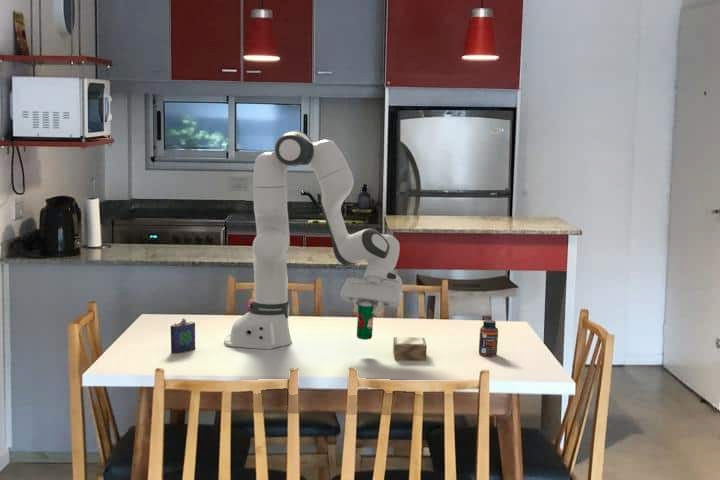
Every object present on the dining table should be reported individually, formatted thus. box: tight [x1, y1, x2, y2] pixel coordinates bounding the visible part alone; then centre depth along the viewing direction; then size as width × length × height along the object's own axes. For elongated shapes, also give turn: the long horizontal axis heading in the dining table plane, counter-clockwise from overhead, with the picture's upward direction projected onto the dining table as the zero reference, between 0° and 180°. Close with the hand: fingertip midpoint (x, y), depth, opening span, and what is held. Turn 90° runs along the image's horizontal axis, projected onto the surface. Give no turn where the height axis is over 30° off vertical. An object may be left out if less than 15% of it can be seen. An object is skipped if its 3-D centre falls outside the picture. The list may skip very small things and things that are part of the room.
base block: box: [392, 336, 428, 362], centre depth 300 cm, size 10×10×5 cm
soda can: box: [356, 300, 375, 341], centre depth 299 cm, size 5×5×12 cm
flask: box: [170, 318, 196, 355], centre depth 299 cm, size 9×3×11 cm, turn 138°
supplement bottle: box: [478, 319, 499, 357], centre depth 304 cm, size 6×6×11 cm
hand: (364, 313), depth 298 cm, fingers closed on soda can, 5 cm apart
